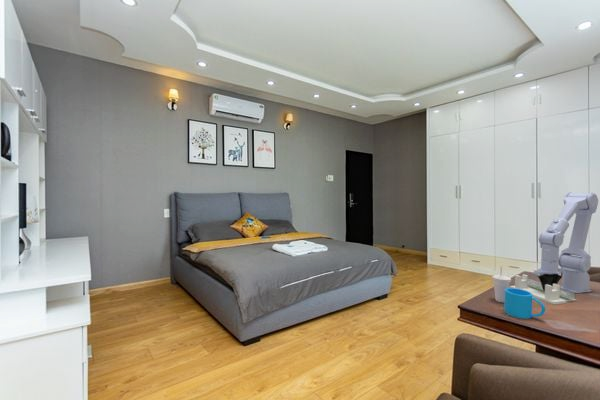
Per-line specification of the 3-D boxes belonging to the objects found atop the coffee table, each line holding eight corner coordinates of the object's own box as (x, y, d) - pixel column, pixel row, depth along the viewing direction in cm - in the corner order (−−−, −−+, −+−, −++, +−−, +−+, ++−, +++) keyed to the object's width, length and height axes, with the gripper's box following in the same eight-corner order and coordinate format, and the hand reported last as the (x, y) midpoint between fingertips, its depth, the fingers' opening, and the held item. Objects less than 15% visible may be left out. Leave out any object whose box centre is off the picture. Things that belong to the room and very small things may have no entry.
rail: (530, 283, 137) (530, 279, 137) (574, 298, 119) (574, 293, 119) (526, 284, 136) (526, 279, 136) (569, 298, 119) (569, 293, 119)
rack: (520, 287, 136) (520, 273, 136) (565, 303, 118) (566, 286, 117) (509, 288, 135) (510, 273, 134) (554, 304, 116) (554, 287, 116)
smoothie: (504, 298, 123) (505, 265, 122) (514, 304, 117) (515, 269, 116) (488, 297, 124) (489, 264, 123) (497, 303, 117) (498, 269, 117)
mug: (500, 312, 109) (501, 291, 108) (508, 307, 114) (509, 286, 113) (541, 324, 99) (542, 301, 99) (548, 318, 104) (549, 295, 104)
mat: (535, 286, 137) (535, 285, 137) (576, 300, 120) (576, 299, 120) (523, 287, 135) (523, 287, 135) (563, 302, 119) (563, 301, 119)
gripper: (546, 263, 122) (545, 295, 122) (573, 261, 125) (571, 292, 126) (529, 259, 128) (528, 289, 129) (555, 257, 132) (554, 287, 132)
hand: (548, 290), depth 128 cm, fingers closed on rail, 2 cm apart
